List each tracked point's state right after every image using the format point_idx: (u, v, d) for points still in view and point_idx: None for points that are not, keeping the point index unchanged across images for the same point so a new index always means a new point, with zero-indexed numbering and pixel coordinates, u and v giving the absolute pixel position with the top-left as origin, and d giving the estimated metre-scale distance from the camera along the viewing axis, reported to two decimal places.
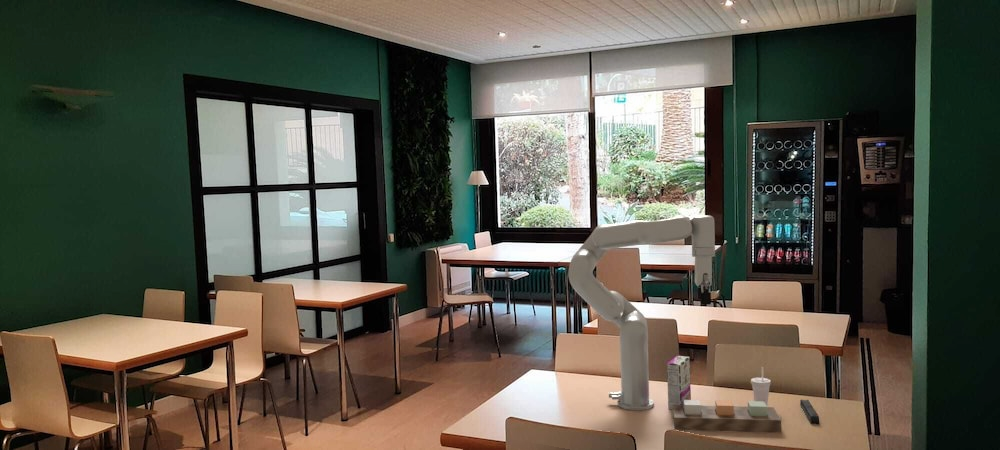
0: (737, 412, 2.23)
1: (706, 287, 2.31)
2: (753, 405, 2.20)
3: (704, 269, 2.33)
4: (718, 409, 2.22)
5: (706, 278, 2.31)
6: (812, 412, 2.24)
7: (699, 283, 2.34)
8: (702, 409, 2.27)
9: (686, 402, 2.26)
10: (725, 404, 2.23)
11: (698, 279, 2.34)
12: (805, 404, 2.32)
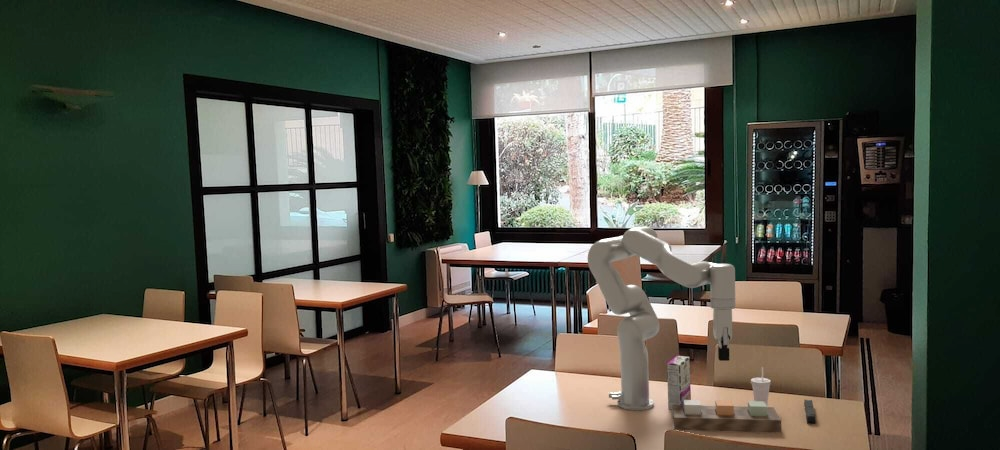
0: (737, 412, 2.23)
1: (724, 345, 2.19)
2: (753, 405, 2.20)
3: (724, 322, 2.17)
4: (718, 409, 2.22)
5: (725, 338, 2.17)
6: (810, 412, 2.25)
7: (718, 337, 2.17)
8: (702, 409, 2.27)
9: (686, 402, 2.26)
10: (725, 404, 2.23)
11: (717, 333, 2.17)
12: (806, 404, 2.32)
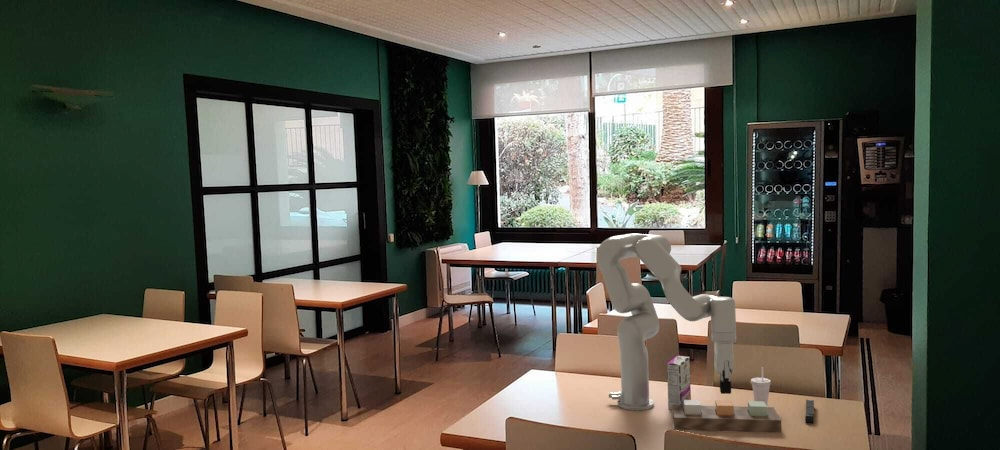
0: (737, 412, 2.23)
1: None
2: (753, 405, 2.20)
3: (725, 356, 2.17)
4: (718, 409, 2.22)
5: (727, 372, 2.18)
6: (809, 412, 2.25)
7: (720, 371, 2.18)
8: (702, 409, 2.27)
9: (686, 402, 2.26)
10: (725, 404, 2.23)
11: (719, 367, 2.18)
12: (807, 404, 2.32)
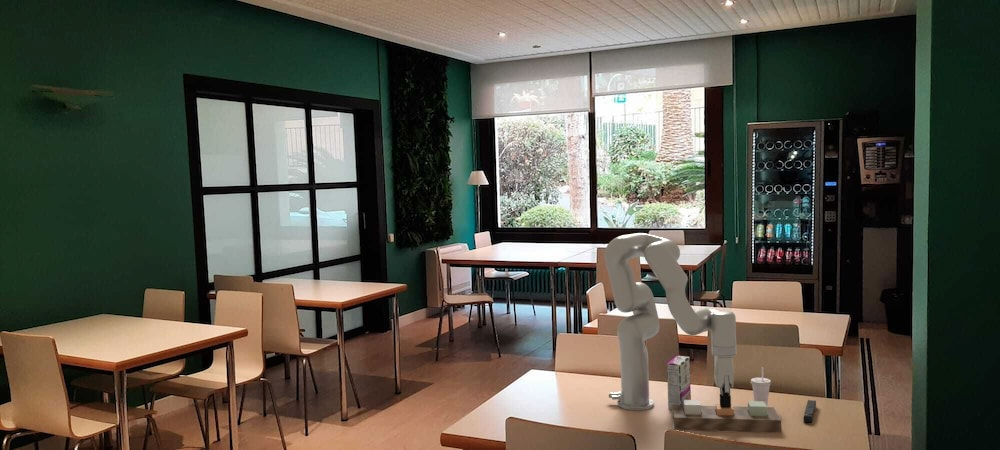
0: (737, 412, 2.23)
1: (726, 392, 2.20)
2: (753, 405, 2.20)
3: (725, 371, 2.18)
4: (718, 413, 2.22)
5: (727, 386, 2.18)
6: (808, 412, 2.25)
7: (720, 385, 2.18)
8: (702, 409, 2.27)
9: (686, 402, 2.26)
10: None
11: (719, 381, 2.18)
12: (808, 404, 2.32)
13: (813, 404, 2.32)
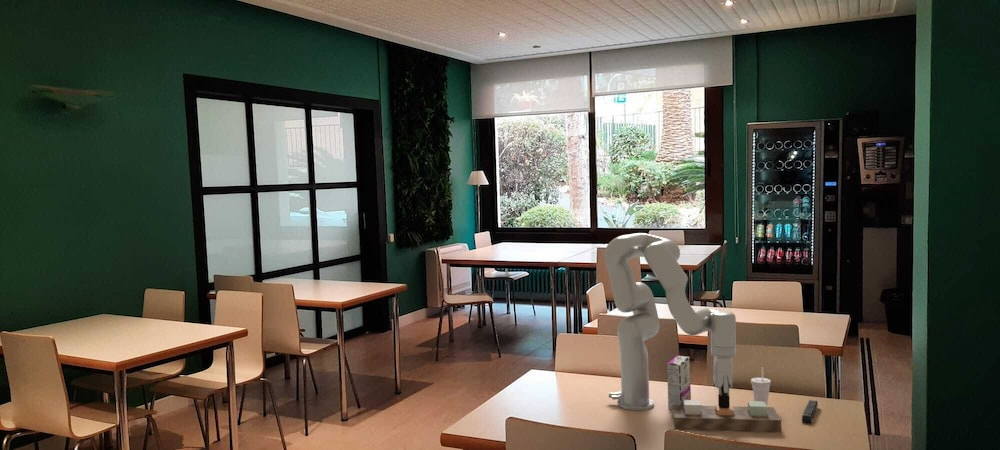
0: (737, 412, 2.23)
1: (725, 392, 2.20)
2: (753, 405, 2.20)
3: (724, 371, 2.18)
4: (718, 413, 2.22)
5: (726, 387, 2.18)
6: (807, 412, 2.25)
7: (719, 386, 2.19)
8: (702, 409, 2.27)
9: (686, 402, 2.26)
10: (726, 408, 2.23)
11: (718, 381, 2.19)
12: (809, 404, 2.32)
13: (814, 404, 2.32)
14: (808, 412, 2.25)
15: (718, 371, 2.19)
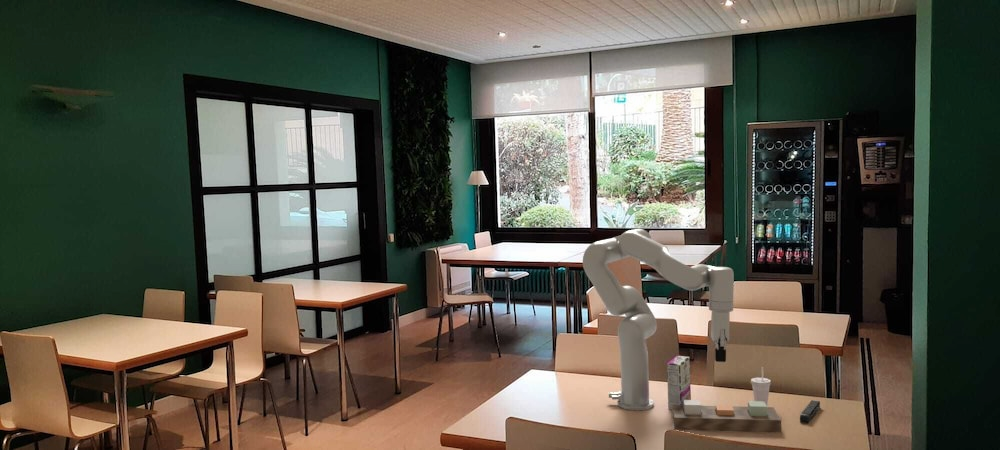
0: (737, 412, 2.23)
1: (721, 346, 2.23)
2: (753, 405, 2.20)
3: (721, 325, 2.21)
4: (718, 413, 2.22)
5: (722, 340, 2.22)
6: (806, 411, 2.25)
7: (716, 339, 2.22)
8: (702, 409, 2.27)
9: (686, 402, 2.26)
10: (726, 408, 2.23)
11: (715, 335, 2.22)
12: (810, 404, 2.32)
13: (815, 404, 2.31)
14: (807, 412, 2.25)
15: (715, 325, 2.22)
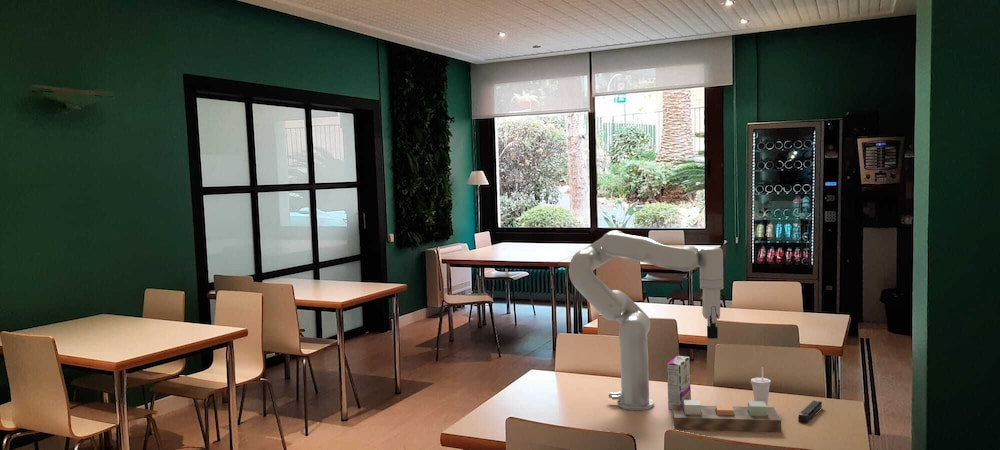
0: (737, 412, 2.23)
1: None
2: (753, 405, 2.20)
3: (712, 302, 2.30)
4: (718, 413, 2.22)
5: (714, 317, 2.30)
6: (805, 411, 2.25)
7: (707, 316, 2.30)
8: (702, 409, 2.27)
9: (686, 402, 2.26)
10: (726, 408, 2.23)
11: (706, 312, 2.30)
12: (810, 404, 2.32)
13: (816, 404, 2.31)
14: (806, 412, 2.25)
15: (706, 302, 2.30)
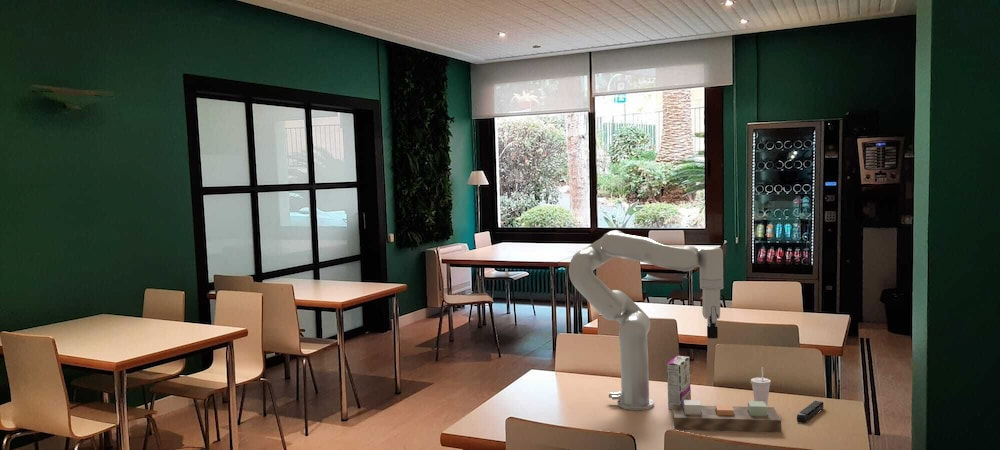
0: (737, 412, 2.23)
1: (713, 323, 2.32)
2: (753, 405, 2.20)
3: (712, 302, 2.30)
4: (718, 413, 2.22)
5: (714, 317, 2.30)
6: (804, 411, 2.26)
7: (707, 316, 2.30)
8: (702, 409, 2.27)
9: (686, 402, 2.26)
10: (726, 408, 2.23)
11: (706, 312, 2.30)
12: (811, 404, 2.32)
13: (816, 405, 2.31)
14: (805, 411, 2.25)
15: (706, 302, 2.30)
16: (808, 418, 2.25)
